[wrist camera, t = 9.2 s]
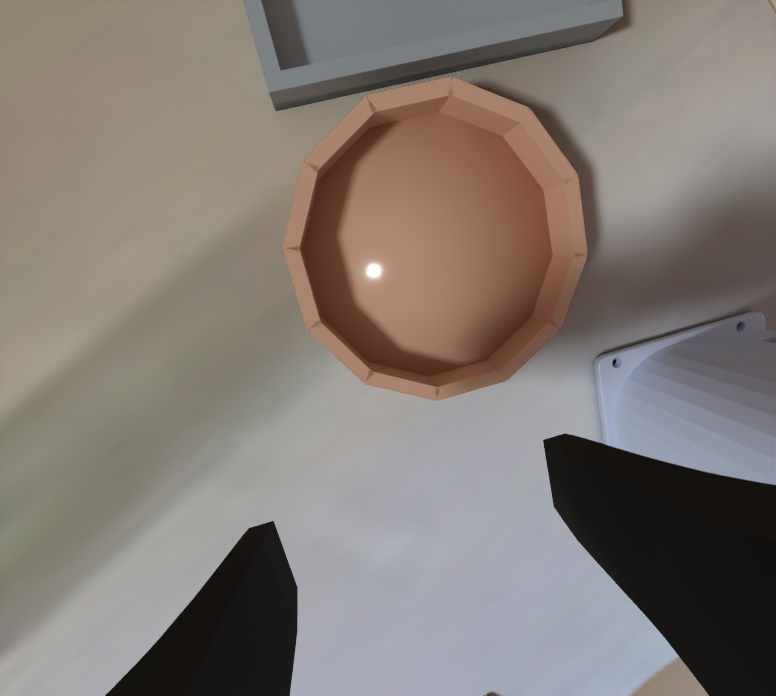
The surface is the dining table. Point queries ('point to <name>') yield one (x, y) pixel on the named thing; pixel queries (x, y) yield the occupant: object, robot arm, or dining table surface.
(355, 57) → the slate-grey tray
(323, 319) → the terracotta dish
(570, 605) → the dining table surface
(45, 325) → the dining table surface
